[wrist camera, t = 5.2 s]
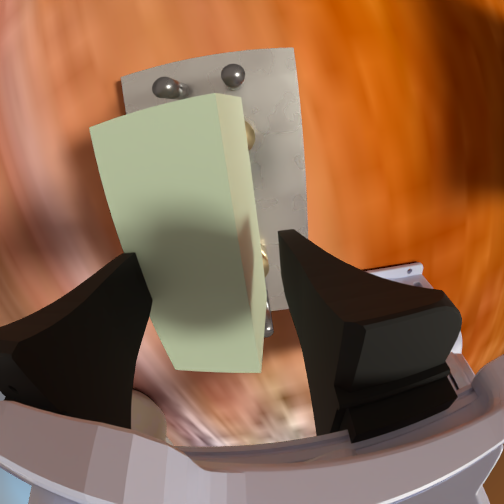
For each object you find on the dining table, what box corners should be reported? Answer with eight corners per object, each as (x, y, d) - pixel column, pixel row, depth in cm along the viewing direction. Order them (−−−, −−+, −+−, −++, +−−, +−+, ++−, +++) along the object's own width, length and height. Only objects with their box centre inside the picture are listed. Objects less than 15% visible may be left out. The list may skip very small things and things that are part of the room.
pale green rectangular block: (241, 97, 12) (215, 93, 7) (266, 296, 18) (261, 372, 13) (156, 113, 13) (89, 127, 8) (200, 299, 19) (175, 369, 13)
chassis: (290, 50, 13) (310, 31, 9) (305, 298, 22) (319, 343, 18) (127, 78, 13) (88, 72, 9) (183, 311, 22) (173, 358, 18)
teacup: (77, 380, 28) (60, 429, 21) (133, 367, 26) (116, 431, 19) (144, 429, 35) (137, 472, 28) (201, 422, 33) (198, 473, 26)
